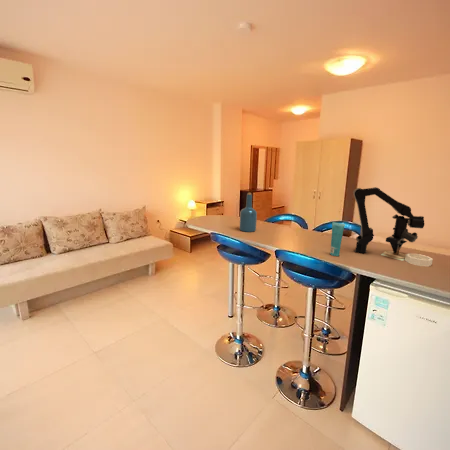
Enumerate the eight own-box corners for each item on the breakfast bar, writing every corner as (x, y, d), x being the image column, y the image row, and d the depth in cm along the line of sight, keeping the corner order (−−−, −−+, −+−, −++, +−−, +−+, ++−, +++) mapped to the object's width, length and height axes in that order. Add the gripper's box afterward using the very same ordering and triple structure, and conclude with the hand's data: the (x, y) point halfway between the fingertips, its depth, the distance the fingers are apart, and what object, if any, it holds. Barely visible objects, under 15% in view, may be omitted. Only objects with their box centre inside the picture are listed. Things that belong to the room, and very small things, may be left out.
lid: (402, 260, 145) (404, 251, 144) (380, 254, 155) (381, 245, 154) (411, 256, 152) (413, 247, 151) (389, 251, 162) (390, 242, 161)
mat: (402, 261, 145) (402, 260, 145) (379, 255, 155) (379, 254, 155) (411, 257, 152) (411, 256, 152) (389, 252, 162) (389, 251, 162)
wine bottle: (255, 232, 201) (257, 193, 195) (238, 231, 203) (240, 193, 197) (256, 228, 214) (258, 192, 208) (240, 227, 216) (241, 191, 210)
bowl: (425, 268, 135) (427, 261, 135) (402, 262, 144) (403, 255, 143) (433, 264, 142) (435, 257, 141) (410, 258, 151) (411, 252, 150)
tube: (342, 255, 153) (346, 223, 149) (339, 257, 149) (343, 224, 145) (329, 252, 158) (333, 221, 154) (326, 254, 154) (330, 222, 150)
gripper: (410, 231, 138) (404, 259, 141) (423, 227, 149) (418, 253, 152) (387, 227, 147) (383, 253, 150) (401, 224, 158) (397, 248, 161)
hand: (396, 252), depth 153 cm, fingers closed on lid, 3 cm apart
